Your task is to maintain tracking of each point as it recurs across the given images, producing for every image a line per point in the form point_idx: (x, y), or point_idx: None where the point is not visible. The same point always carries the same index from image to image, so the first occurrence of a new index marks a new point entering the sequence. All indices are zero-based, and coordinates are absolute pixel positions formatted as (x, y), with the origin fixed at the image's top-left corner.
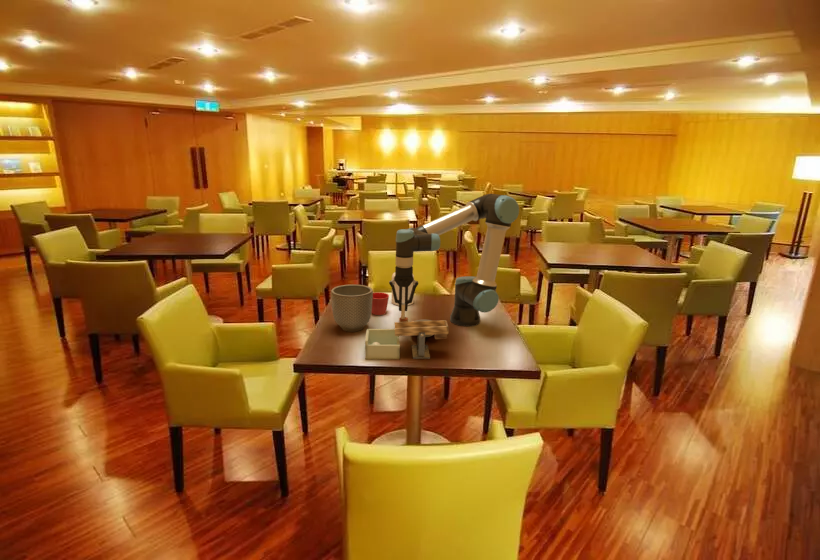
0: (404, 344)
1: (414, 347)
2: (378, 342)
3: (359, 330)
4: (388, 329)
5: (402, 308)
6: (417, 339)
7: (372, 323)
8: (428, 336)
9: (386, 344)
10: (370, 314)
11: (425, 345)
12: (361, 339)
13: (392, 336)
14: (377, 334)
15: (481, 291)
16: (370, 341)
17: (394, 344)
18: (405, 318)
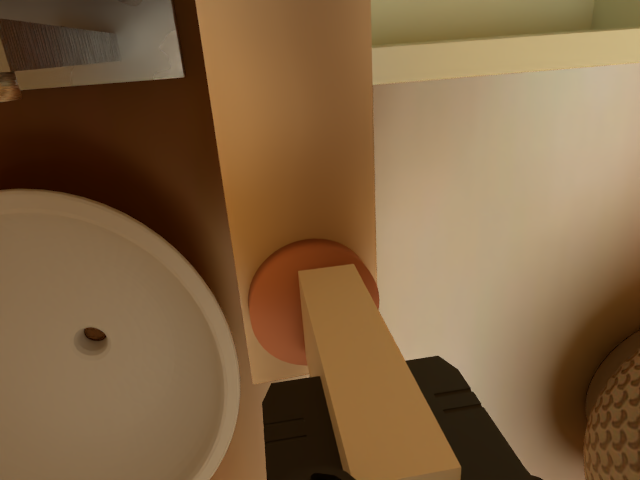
0: None
1: (142, 3)
2: (528, 34)
3: (617, 346)
4: (505, 56)
5: (393, 387)
6: (91, 32)
7: None
8: (14, 247)
9: (441, 40)
10: (633, 473)
11: (25, 72)
12: (621, 193)
13: (414, 43)
14: (600, 30)
15: None
16: (610, 28)
17: None
18: (285, 304)
